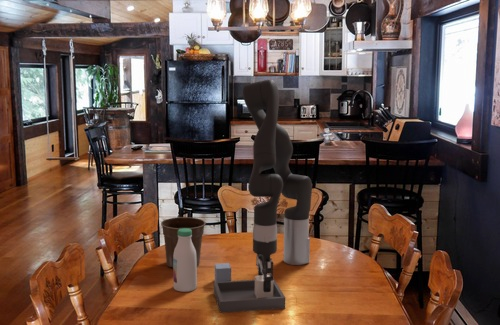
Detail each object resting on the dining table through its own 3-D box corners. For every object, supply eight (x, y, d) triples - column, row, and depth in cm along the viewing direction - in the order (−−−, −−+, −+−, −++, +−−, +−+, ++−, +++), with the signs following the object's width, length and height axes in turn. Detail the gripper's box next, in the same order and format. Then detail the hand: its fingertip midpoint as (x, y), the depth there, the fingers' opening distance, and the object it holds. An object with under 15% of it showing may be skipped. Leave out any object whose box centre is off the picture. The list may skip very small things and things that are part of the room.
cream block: (254, 293, 184) (254, 275, 183) (269, 292, 185) (270, 274, 184) (257, 299, 179) (257, 281, 178) (273, 298, 180) (273, 280, 179)
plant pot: (200, 255, 223) (199, 215, 220) (210, 269, 208) (210, 226, 205) (158, 259, 218) (157, 218, 215) (165, 274, 203) (165, 230, 200)
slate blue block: (229, 279, 199) (229, 262, 197) (231, 284, 194) (231, 268, 193) (214, 280, 198) (214, 263, 197) (216, 285, 193) (216, 268, 192)
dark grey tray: (273, 288, 191) (273, 278, 190) (285, 308, 175) (285, 297, 175) (213, 292, 187) (213, 281, 187) (220, 312, 172) (220, 301, 171)
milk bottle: (200, 285, 193) (200, 227, 189) (190, 293, 186) (190, 234, 182) (179, 282, 195) (179, 225, 192) (169, 290, 188) (168, 231, 185)
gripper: (249, 231, 185) (248, 278, 188) (257, 244, 171) (256, 296, 174) (271, 230, 186) (271, 277, 189) (282, 243, 172) (281, 294, 175)
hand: (264, 286), depth 181 cm, fingers open, 8 cm apart
